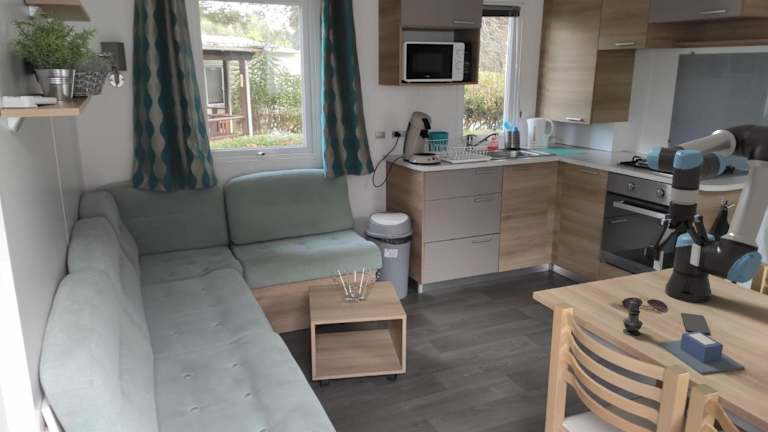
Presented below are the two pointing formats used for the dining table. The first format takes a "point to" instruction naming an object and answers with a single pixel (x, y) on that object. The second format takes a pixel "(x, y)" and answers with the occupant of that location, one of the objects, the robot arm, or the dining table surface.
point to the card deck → (701, 347)
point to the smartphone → (694, 323)
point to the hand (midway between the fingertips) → (676, 267)
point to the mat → (700, 367)
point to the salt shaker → (633, 319)
